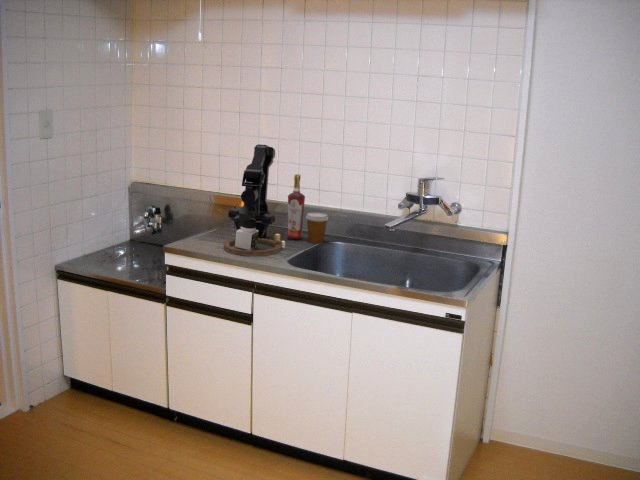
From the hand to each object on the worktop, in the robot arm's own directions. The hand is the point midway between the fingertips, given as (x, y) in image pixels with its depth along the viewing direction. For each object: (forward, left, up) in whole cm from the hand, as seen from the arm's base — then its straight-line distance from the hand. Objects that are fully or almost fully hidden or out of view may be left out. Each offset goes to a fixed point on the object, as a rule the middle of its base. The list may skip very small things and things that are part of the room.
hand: (250, 236), depth 296 cm
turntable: (0, +1, -5) cm, 5 cm away
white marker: (-7, +12, -5) cm, 15 cm away
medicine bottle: (0, -2, -5) cm, 5 cm away
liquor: (-24, +11, -5) cm, 27 cm away
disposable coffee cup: (-23, +21, -5) cm, 32 cm away
